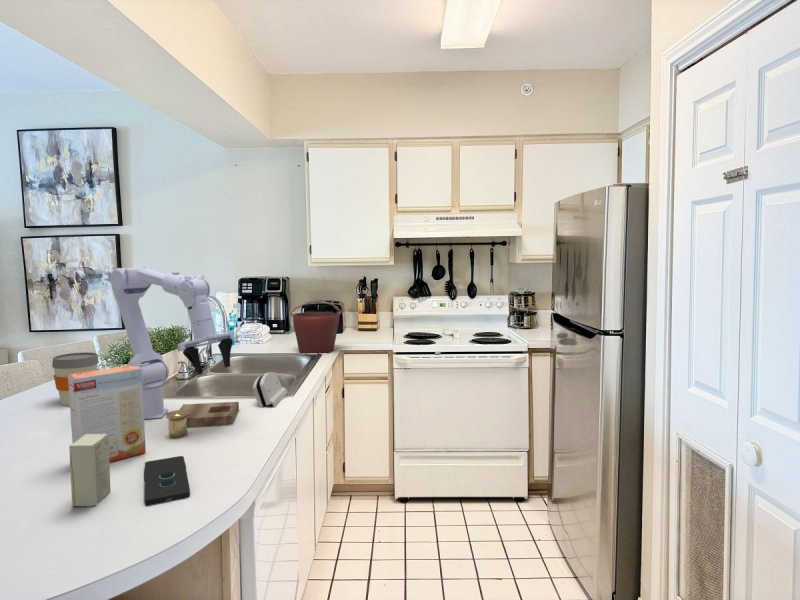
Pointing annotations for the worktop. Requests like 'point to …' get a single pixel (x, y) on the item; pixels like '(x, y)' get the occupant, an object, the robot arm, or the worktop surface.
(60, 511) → the worktop surface
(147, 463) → the smart home device
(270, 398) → the grey piece
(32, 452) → the worktop surface
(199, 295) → the robot arm
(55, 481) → the worktop surface
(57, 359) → the reusable coffee cup
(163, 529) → the worktop surface
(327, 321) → the bucket
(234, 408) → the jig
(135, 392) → the cracker box
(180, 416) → the bushing
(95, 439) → the skincare box
